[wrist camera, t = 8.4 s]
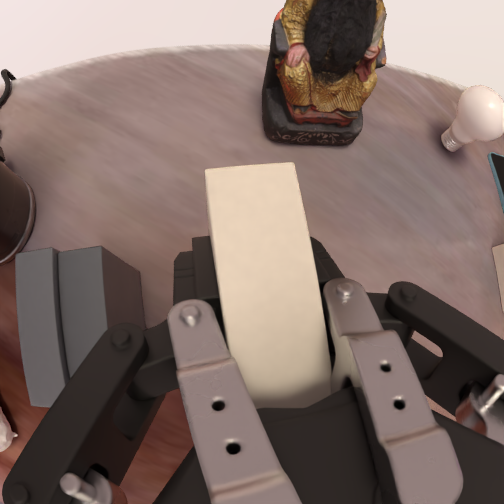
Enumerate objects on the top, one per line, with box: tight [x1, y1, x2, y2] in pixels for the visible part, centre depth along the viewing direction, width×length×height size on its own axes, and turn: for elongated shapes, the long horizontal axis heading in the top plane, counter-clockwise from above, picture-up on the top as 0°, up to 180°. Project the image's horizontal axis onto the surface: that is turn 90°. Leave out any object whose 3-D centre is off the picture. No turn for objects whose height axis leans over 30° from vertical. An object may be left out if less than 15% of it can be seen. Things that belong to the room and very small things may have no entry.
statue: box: [262, 0, 387, 145], centre depth 20 cm, size 12×8×20 cm, turn 88°
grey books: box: [16, 246, 146, 407], centre depth 18 cm, size 6×9×10 cm, turn 9°
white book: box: [205, 162, 332, 409], centre depth 13 cm, size 3×8×10 cm, turn 9°
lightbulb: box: [441, 85, 504, 152], centre depth 26 cm, size 6×6×11 cm
